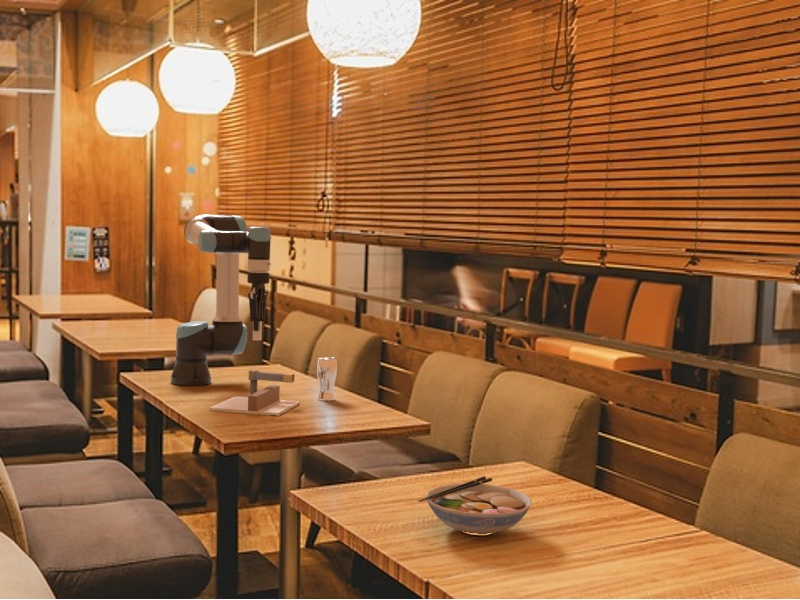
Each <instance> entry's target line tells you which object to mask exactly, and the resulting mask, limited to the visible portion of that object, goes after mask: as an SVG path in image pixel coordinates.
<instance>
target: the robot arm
mask: <svg viewBox="0 0 800 600" xmlns="http://www.w3.org/2000/svg"><path fill="white" fill-rule="evenodd" d="M183 233H184V236H185V238H186V239H187V241H188V242H190V243H191V244H194V245H198V249H199V251H200V252H202V253H207V254H208V253H210V254H212V253H215V254H216V290H215V292H216V297H215V298H216V304H215V305H216V307H215V309H216V312H215V313H216V314H215V317H214V318H213V319H212V322H211V323H212V324H208V322H207V321H205V320H200V321H198V320H197V321H196V320H195V321H189V322H183V323H181V324H179V325H177V327H176V331H175V332H176V334H175V340H176V342H175V345H176V346H175V364H174V367H173V371H172V372H171V376H170V384H173V385H176V386H177V385H179V386H204V385H209V384H211V383H212V376H211V372H210V369H209V365H208V356H221V355H222V356H223V355H224V356H225V355H229V356H232V355H240V354H242V353H243V352H244V350H245V347H246V346H247V345H246V344H247V340H248V327H247V325H246V324H244V323H243V318H241V317H240V316H239V313H240V311H239V309H240V308H239V306H240V304H239V303H240V302H239V301H240V298H239V295H240V293H239V292H240V286H239V285H240V277H239V276H240V254H247V271H248V272H247V280H246V282H247V283H248V284H251V288H250V292H248V294H247V297H248V304H249V305H248V306H249V315H250V316H249V318H250V320H249V321H250V322H252V341H259V342H260V341H262V339H263V338H262V336H263V334H262V333H263V332H262V331H263V329H262V328H263V322H265V321H266V320H265V316H266V307H267V298H268V294H269V292H268V290H266V286H265V285H266V284H268V285H269V283H270V281H271V280H270V277H271V276H270V275H271V274H270V272H269V271H270V270H271V269H270V266H272V262H270V261H271V240H272V236H271V235H272V234H271V229H270V227H267V226H249V228H248V226H247V223H246V220H245V218H244V217H242V216H240V215H232V214H200V215H195V216H193V217H192V218H190V219H189V220H187V222H185V224H184V228H183Z"/></svg>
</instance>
